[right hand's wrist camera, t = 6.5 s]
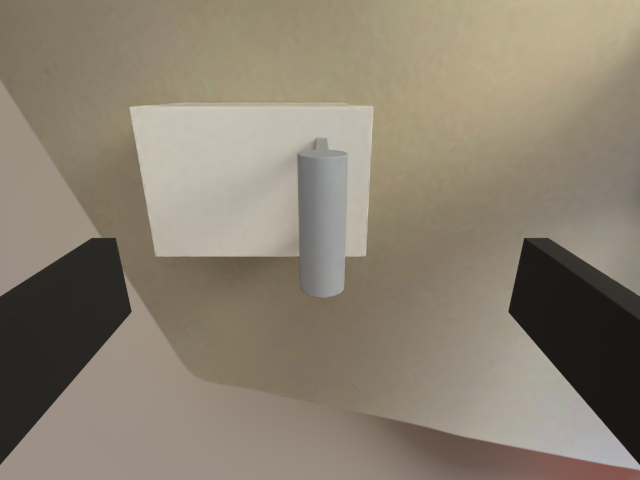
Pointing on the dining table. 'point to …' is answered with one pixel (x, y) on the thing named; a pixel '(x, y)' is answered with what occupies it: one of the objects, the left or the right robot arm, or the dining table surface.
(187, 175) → the grey and white piece
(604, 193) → the dining table surface
